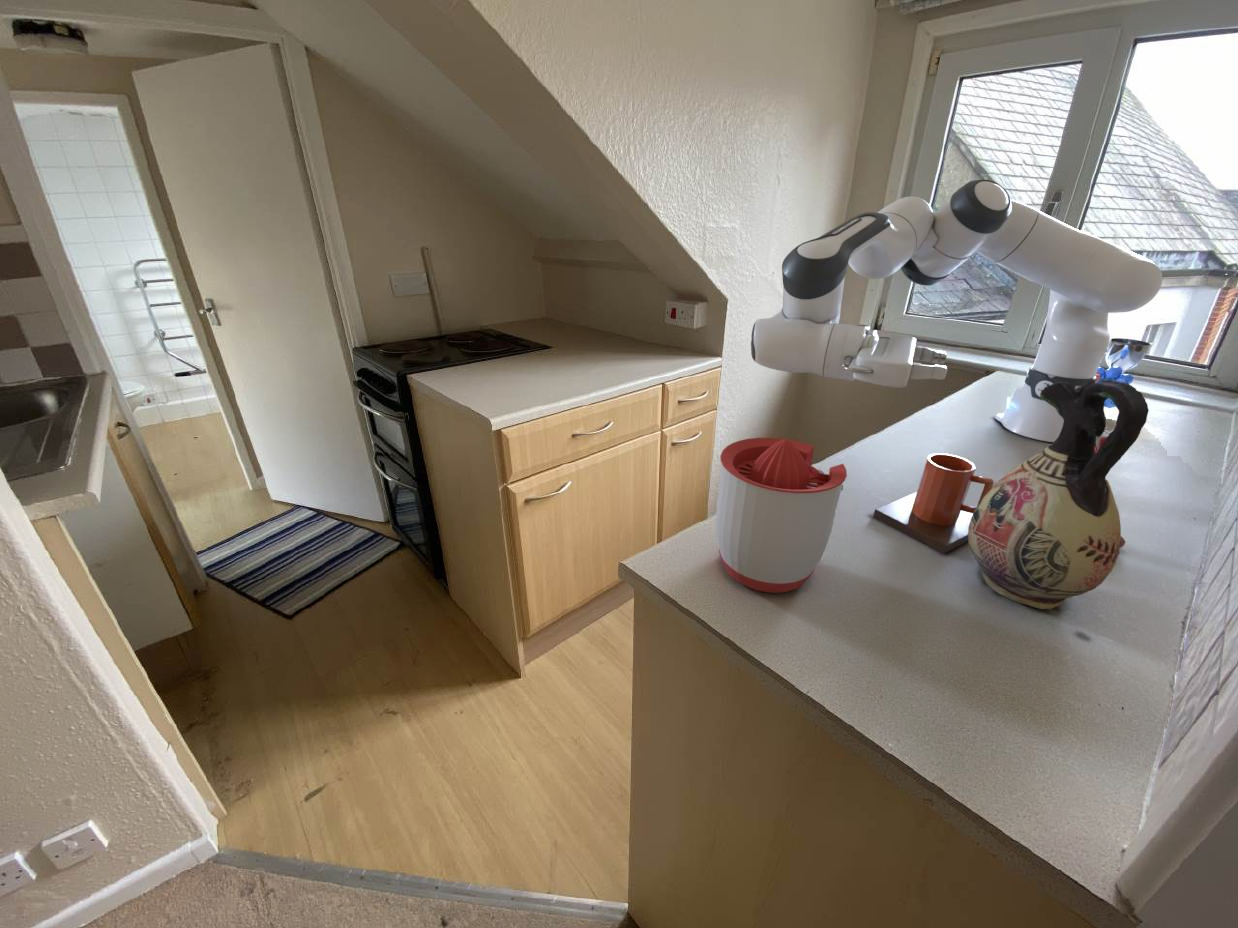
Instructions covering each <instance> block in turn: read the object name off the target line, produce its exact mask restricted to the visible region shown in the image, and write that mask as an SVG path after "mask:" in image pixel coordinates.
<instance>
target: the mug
mask: <svg viewBox="0 0 1238 928" xmlns="http://www.w3.org/2000/svg"><path fill="white" fill-rule="evenodd" d="M976 470H977V469H976V465H975V464H974V463H973V462H972V461H970V460H968V459H967V458H964V457H961V456H958V455H954V454H949V453H938V452H937V453H931V454H929V455H927V457H926V461H925V464H924V467H923V470H922V474H921V477H920V480H919V483H918V487H917V490H916V492H917V493H916V496H915V500H914V503H913V507H912V512H913V513H914V515H916V516H917V517H918V518H920V519H922V520H924V521H926V522H929V523H932V524H936V525H945V526H946V525H953V524H955V523H956V522H957V519H958V518H959V515H960V512H961V511H965V512H970V513H974V511H975V509H976V508H977V506H978V504H979V503H980V502H981V500H982V498H983V497H984V496H985V495H986V494H987V492H988V491H989V490H990V489H991V487H992V486H993V485H994V484H995V480H994V479H993V478H989V477H983V476H979V475H975V473H976ZM972 483H977V484H982V485H984V486H983V488H982V490H981V493H980V496H979V500H978V502H977V506H976V507H975V506H972V505H967V504H964V503H965V500H966V497H967V496H968V495H967V494H968V492H969V490H970V487H971V484H972Z"/></svg>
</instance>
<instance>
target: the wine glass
mask: <svg viewBox="0 0 1238 928" xmlns="http://www.w3.org/2000/svg"><path fill="white" fill-rule="evenodd" d="M1150 347H1151V343H1150V342H1148V341H1143V340H1139V339H1131V338H1120V337H1119V338H1118V337H1117V338H1115V337H1114V338H1110V341H1109V345H1108V347H1107V350H1106V352H1105V362H1106V364H1107V366H1108V369H1109V368H1111V367H1115V366H1117V367H1121V368H1122V370H1123V372H1122V374H1125V372H1127V371H1129V370H1131V369H1133V368H1135V367H1137V366H1138V365H1139V364H1140V363H1141V361H1143V359H1144V358H1145V356H1146V355H1147V353H1148V351H1149V349H1150Z"/></svg>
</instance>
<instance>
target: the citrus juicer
mask: <svg viewBox="0 0 1238 928" xmlns="http://www.w3.org/2000/svg"><path fill="white" fill-rule="evenodd" d="M814 451H815V445H813V444H809V443H806V442H804V441H797V440H794V439H787V438H781V437H780V438H779V437H753V438H745V439H740V440H737V441H735V442H732V443H730V444H728V445H727V446H725V448H724V449H723V450H722V451H721V454H720V464H721V467H720V468H721V469H720V475H719V484H718V485H719V486H718V494H717V503H716V512H715V513H716V514H715V515H716V516H715V530H716V540H717V545H718V553H719V556H720V559H721V561H722V564H723V567H724V569H725V571H726V572H727V574H728V575H729V576H730V577H731V578H732V579H733V580H735V581H736V582H738V583H740V584H741V585H743V586H745V587H747V588H750V589H751V590H755V591H757V592H758V591H759V592H764V593H772V594H773V593H775V594H776V593H777V594H778V593H787V592H790V591H794V590H796V589H799V588H800V587H801V586H802V585H804V583H805V582H807V580H808V579H809V578H810V577H811V576H812V574H813V573H814V571H815V569H816V567H817V566H818V564H819V562H821V559H822V557H823V555H824V553H825V551H826V550H827V549H826V548H827V546H828V544H829V540H830V537H831V534H832V531H833V527H834V522H835V517H836V513H837V510H838V504H839V500H840V496H841V491H844V485H843V483H844V482H845V481H846V480H847V476H848V473H847V471H848V470H847V468H846V466H845V464H844V463H841V464H837V465H834V466H831V467H829V471H828V473H825V472H824V471H822V470H821V469H817V468H816V467H815V466H813V465H812V464H813V459H814V458H813V457H814Z"/></svg>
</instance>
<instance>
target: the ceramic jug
mask: <svg viewBox="0 0 1238 928" xmlns="http://www.w3.org/2000/svg"><path fill="white" fill-rule="evenodd" d="M1040 397H1041V398H1042V399H1043V400H1044V401H1046V402H1047V403H1048V404H1050V405H1051V406H1053V407H1054V408H1055V409H1056V410H1057V412H1058V414H1059V415H1060V416H1061V417H1062V418H1063V420H1064V423H1063V427H1062V430H1061V432H1060V435H1059V436H1058V438H1057V439H1056V440H1055V441H1054V442H1052V443H1051V444H1049V445H1048V446H1047V447H1045V448H1044V449H1043V450H1041V451H1040V452H1038V453H1037V454H1036V455H1033V456H1031V457H1030V458H1028V459H1026V460H1024V461H1023V462H1022V463H1020V464H1019V465H1017V466H1015V467H1014V468H1013V469H1012V470H1011V471H1010V472H1008V473H1007V474H1005V475H1004V476H1003V477H1002V478H1000V479H999V480H998V481H997V482H994V484H993V486H992V487H991V489H990V490H989V491H988V492H987V494H986V495H985V496H984V497H983V498H982V500H981V502H980V503H979V504H978V503H977V505H978V506H976V507H977V508H976V509H975V511H974V513H973V515H972V517H971V520H970V524H969V529H968V541H967V542H968V547H969V549H970V552H971V554H972V556H973V557H974V559H975V561H976V562H977V564H978V566H979V569H980V570H981V573H982V578H983V580H984V582H985V583H986V585H987V586H988V587H990V588H991V589H992V590H993V591H995V592H996V593H998V594H999V595H1001V596H1002V597H1005V598H1007V599H1009V600H1012V601H1013V602H1016V603H1018V604H1019V603H1020V604H1023V605H1026V606H1029V607H1032V608H1036V609H1039V610H1051V609H1053V608H1056V607H1060V606H1063V605H1064V604H1065V602H1066V599H1069V598H1072V597H1076V596H1077V597H1078V596H1081V595H1084V594H1087V593H1088V592H1091V591H1092V590H1095V589H1097V587H1099V586H1100V585H1101V584H1102V583H1103V582H1105V580H1106V579H1107V577H1108V576H1109V575H1110V574H1111V572H1112V571H1113V569H1114V567H1115V565H1116V563H1117V560H1118V557H1119V555H1120V549H1121V548H1120V544H1121V542H1120V538H1121V536H1122V534H1121V533H1122V532H1121V531H1122V528H1121V527H1122V526H1121V525H1122V524H1121V517H1120V516H1121V515H1120V512H1119V510H1118V506H1117V504H1116V499H1115V497H1114V494H1113V491H1112V488H1111V484H1110V482H1109V481H1108V480H1107V479H1106V477H1107V475H1108V474H1109V472H1110V471H1111V469H1112V468H1113V467H1114V466H1115V465H1116V464H1117V463H1118V462H1119V461H1121V459H1122V458H1123V456H1124V455H1125V454H1126V453H1127V451H1129V449H1130V448H1131V447H1132V446H1133V445H1134V444H1135V442H1136V441H1137V439H1138V438H1139V436H1140V434H1141V432H1142V429H1143V427H1144V426H1145V424H1146V423H1147V420H1148V414H1149V406H1148V403H1147V400H1146V398H1145V397H1144V395H1143V393H1142V392H1141V391H1138V390H1137V389H1136V387H1134V386H1132V385H1131V384H1128V383H1125V382H1120V381H1113V380H1105V381H1100V382H1096V383H1095V381H1094V380H1087V381H1086V382H1085V384H1084V385H1082V386H1081V387H1079V388H1077V389H1075V390H1074V389H1073V388H1072V387H1071V386H1070V385H1069V384H1068V383H1067V382H1063V381H1059V382H1056V383H1054V384H1052V385H1050V386H1048V387H1046V388H1045V389H1044V390H1043V391H1042V392H1041V393H1040ZM1107 398H1109V399H1111V400H1112V401H1113V403H1114V404H1115V406H1116V409H1117V410H1118V414H1117V417H1116V421H1115V427H1114V428H1113V430H1111V431H1110V432H1111V433H1110V434H1109V435H1108V437H1107V438H1106V440H1105V441H1104V442H1103V443H1102V444H1101V447H1100V449H1099V450H1098V451H1097V453H1096V454H1095V453H1094V448H1095V443H1096V437H1100V436H1101V435H1102V434H1103V432H1104V430H1106V426H1107V420H1106V419H1107V418H1106V413H1105V410H1104V409H1105V407H1104V402H1105V400H1106V399H1107Z"/></svg>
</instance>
